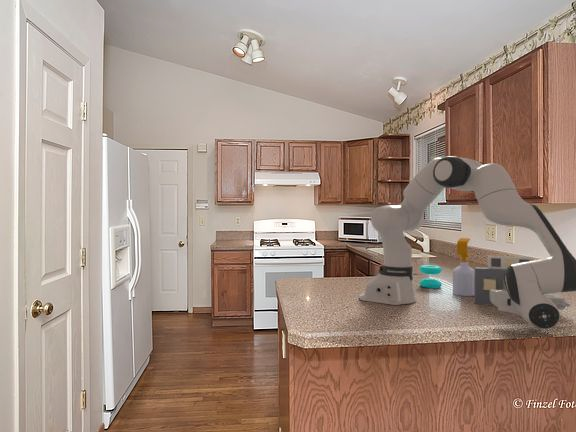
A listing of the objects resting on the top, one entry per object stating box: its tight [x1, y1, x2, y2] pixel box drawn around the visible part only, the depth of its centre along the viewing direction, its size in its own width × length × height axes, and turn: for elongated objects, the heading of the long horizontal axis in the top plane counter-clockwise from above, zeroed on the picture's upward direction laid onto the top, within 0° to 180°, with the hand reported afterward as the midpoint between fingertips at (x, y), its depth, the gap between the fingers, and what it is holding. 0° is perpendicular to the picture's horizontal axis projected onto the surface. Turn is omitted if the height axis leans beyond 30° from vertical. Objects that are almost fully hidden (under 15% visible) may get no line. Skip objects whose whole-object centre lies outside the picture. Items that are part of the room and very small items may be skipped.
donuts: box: [419, 264, 443, 289], centre depth 177 cm, size 10×10×10 cm
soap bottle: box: [452, 237, 475, 297], centre depth 160 cm, size 9×9×25 cm
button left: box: [483, 278, 496, 290], centre depth 144 cm, size 4×7×4 cm, turn 157°
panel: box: [473, 255, 534, 306], centre depth 141 cm, size 24×3×19 cm, turn 68°
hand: (521, 294), depth 123 cm, fingers closed
